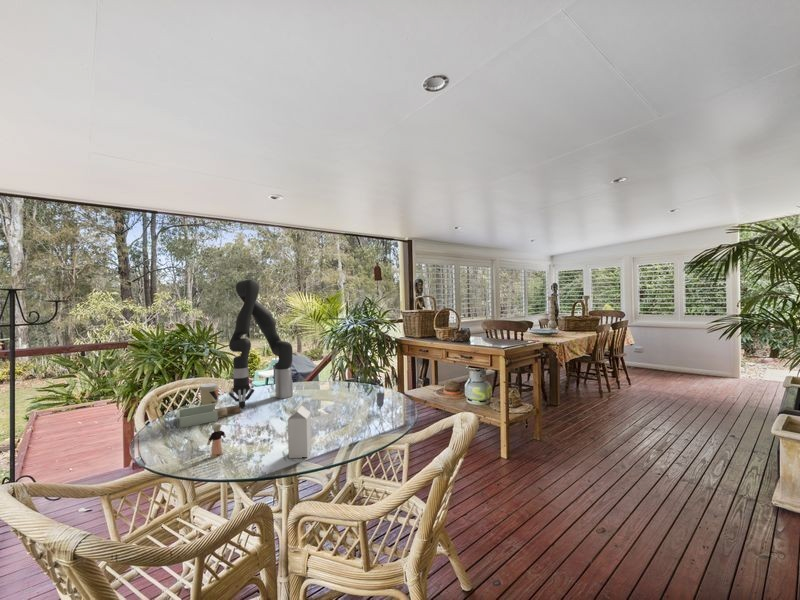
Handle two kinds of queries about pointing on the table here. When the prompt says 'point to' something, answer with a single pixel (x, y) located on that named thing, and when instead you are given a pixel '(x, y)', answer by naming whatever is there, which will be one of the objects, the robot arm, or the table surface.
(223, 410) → the oak tile
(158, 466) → the table surface
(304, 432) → the milk carton
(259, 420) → the table surface
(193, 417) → the grey-green tray
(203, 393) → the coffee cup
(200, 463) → the table surface
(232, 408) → the walnut tile
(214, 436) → the grandmother figurine
